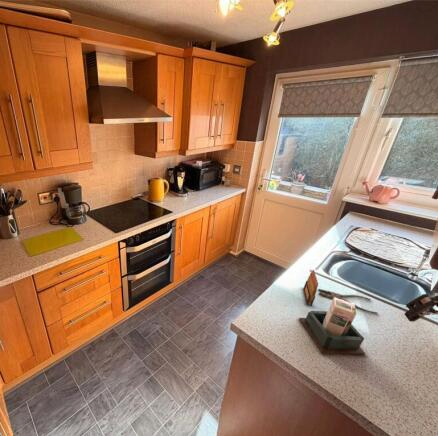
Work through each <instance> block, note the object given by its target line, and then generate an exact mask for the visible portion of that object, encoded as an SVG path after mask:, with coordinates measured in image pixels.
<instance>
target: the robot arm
mask: <svg viewBox="0 0 438 436" xmlns="http://www.w3.org/2000/svg"><path fill="white" fill-rule="evenodd" d="M435 306H436V308H438V293H436V294H435V295H433V296H429V294H427V293H423V294H421V295H420V296H417V297H416V298H414V299H413V300H411V301H409V302H408V303H406V304H405V307H406V308H407V309H408V310H407V311H406V312H404V316H405V318H406V319H407V320H408V321H409V322H410V323H411V322H412V323H413V322H416V321H418V320H420V319H422V318H423V317H425V316H428V315H432V314H433V315H436V316H437V315H438V309H435Z"/></svg>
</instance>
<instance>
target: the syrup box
mask: <svg viewBox="0 0 438 436" xmlns="http://www.w3.org/2000/svg"><path fill="white" fill-rule="evenodd" d="M347 301H348V300H347ZM347 301H344V300H341V299H338V298H335V297H334V298H332V300H331V303H330V305H329V307H328V310H327V311H328V312H327V314H326V316H325V319H324V321H323V323H322V326H323V327H324V329H325V330H326V331H327V333H328V334H329V335H330V336H345V335H346V333H347V331H348V329H349V327H350V325H351V324H352V323H353V322H354V320H355V318H356V316H357V310H356V309H357V308H356V307H355V305H356V304H355V303H353V302H351V303H349V302H350V301H349V302H347Z"/></svg>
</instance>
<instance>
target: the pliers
mask: <svg viewBox="0 0 438 436" xmlns="http://www.w3.org/2000/svg"><path fill="white" fill-rule="evenodd" d="M317 291H318V292H319V293H318V295H320V296H323V297H326V298H329V299H333V298H334V297H335V298H338V299H341V300H344V301H347V302H349V303H352V302H351V301H349V300H347V299H345V298H360V299H365V300H367V301H371V298H370V297H366V296H362V295H358V294H341V293H338V292H334V291H330V290H326V289H321V288H318V289H317ZM355 309H359V310H360V311H363V312H366V313H369V314H374V315H378V312H377V311H372V310H368V309H366V308H362V307H361V306H359V305H356V304H355Z"/></svg>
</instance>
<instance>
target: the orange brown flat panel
mask: <svg viewBox="0 0 438 436" xmlns="http://www.w3.org/2000/svg"><path fill="white" fill-rule="evenodd" d="M318 287H319V282H318V279H317V275H316V272H315V269H312V271H311V272H310V273H309V275H308V277H307V280H306V281H305V283H304V286H303V288H302V290H303V295H304V300H305V305H306V306H310V307H312V306H313V305H314V301H315V299H316V294H317V291H318Z"/></svg>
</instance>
